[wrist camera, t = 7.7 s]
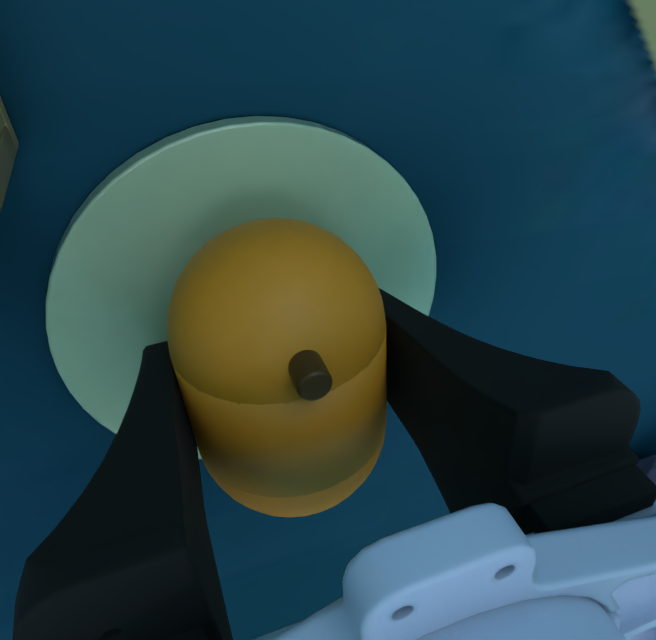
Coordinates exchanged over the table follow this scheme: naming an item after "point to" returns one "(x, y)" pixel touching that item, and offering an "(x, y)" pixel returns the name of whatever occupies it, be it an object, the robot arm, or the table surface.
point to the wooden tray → (6, 151)
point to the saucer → (204, 224)
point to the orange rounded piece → (281, 364)
